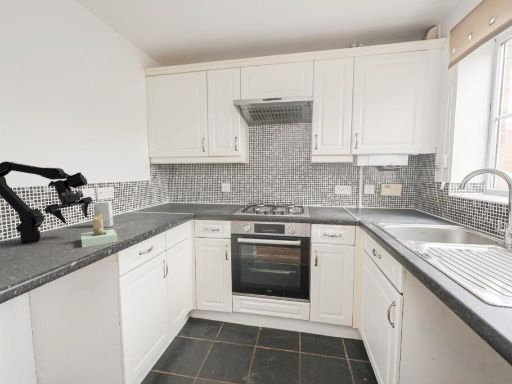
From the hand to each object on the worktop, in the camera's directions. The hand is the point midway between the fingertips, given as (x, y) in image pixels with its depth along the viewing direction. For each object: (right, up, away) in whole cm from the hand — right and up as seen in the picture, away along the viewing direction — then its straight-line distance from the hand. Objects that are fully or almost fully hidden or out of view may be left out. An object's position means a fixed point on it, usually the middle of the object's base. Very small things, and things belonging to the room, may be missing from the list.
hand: (76, 220), depth 117 cm
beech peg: (+13, -10, -2) cm, 16 cm away
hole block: (+13, -10, -2) cm, 16 cm away
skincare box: (-5, -7, +29) cm, 30 cm away
